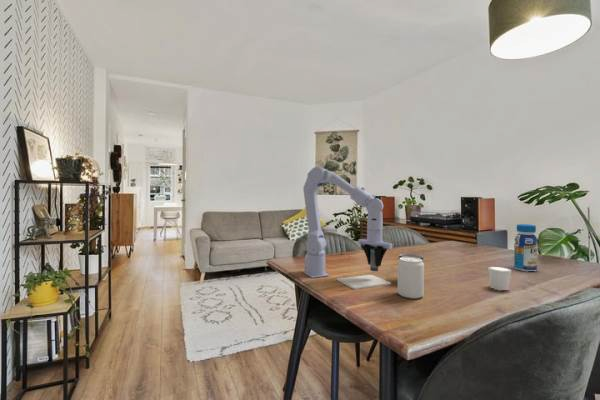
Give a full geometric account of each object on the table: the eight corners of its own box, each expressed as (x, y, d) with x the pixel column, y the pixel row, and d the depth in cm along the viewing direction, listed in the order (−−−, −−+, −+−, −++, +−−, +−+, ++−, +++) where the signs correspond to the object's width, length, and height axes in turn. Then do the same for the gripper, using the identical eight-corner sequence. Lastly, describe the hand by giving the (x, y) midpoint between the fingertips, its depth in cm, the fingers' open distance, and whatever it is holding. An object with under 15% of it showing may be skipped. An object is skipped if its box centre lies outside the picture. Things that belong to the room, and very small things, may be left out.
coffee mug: (425, 285, 108) (425, 258, 108) (400, 284, 110) (400, 257, 109) (419, 277, 119) (419, 252, 119) (396, 276, 121) (396, 251, 121)
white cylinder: (507, 286, 108) (507, 267, 108) (514, 292, 101) (514, 271, 101) (485, 284, 110) (486, 265, 110) (490, 290, 104) (491, 270, 103)
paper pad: (337, 280, 115) (337, 278, 115) (371, 276, 121) (371, 274, 121) (354, 289, 104) (354, 287, 104) (391, 284, 110) (391, 282, 110)
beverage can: (421, 301, 92) (421, 263, 92) (394, 296, 97) (395, 259, 96) (425, 294, 99) (426, 258, 99) (400, 289, 103) (401, 255, 103)
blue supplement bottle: (516, 266, 138) (516, 223, 138) (539, 269, 132) (540, 224, 131) (511, 269, 132) (512, 224, 132) (535, 273, 126) (536, 226, 126)
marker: (368, 270, 114) (368, 249, 114) (373, 268, 116) (373, 248, 116) (375, 271, 112) (375, 250, 112) (380, 270, 114) (380, 249, 114)
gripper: (353, 228, 117) (352, 263, 117) (384, 232, 106) (384, 270, 106) (364, 227, 121) (364, 260, 122) (396, 231, 110) (395, 267, 110)
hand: (374, 265), depth 114 cm, fingers closed on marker, 3 cm apart
